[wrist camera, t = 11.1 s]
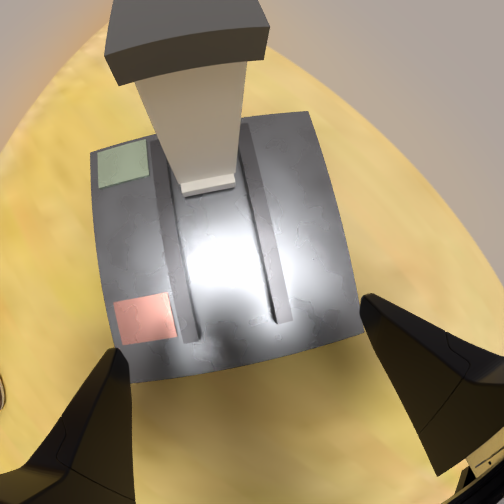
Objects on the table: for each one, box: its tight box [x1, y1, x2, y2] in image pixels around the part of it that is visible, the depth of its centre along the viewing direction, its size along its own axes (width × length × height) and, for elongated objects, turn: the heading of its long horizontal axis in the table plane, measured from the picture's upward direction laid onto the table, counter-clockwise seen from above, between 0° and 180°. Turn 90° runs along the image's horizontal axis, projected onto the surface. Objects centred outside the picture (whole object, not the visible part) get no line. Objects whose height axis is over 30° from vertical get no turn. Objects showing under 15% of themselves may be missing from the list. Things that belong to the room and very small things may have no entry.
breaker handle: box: [104, 0, 270, 197], centre depth 10 cm, size 3×4×11 cm
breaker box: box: [90, 111, 364, 383], centre depth 16 cm, size 14×14×3 cm
